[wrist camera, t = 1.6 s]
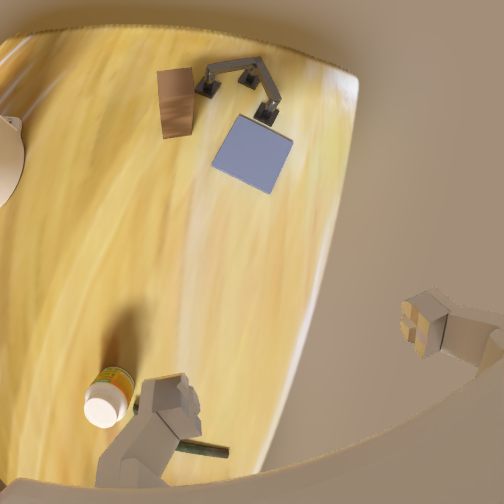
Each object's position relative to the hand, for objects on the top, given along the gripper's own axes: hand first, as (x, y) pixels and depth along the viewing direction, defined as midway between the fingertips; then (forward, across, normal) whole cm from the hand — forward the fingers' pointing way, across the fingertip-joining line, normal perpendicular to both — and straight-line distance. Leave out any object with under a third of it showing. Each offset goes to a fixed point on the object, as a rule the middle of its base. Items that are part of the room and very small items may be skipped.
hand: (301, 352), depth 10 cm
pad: (+36, -5, -2) cm, 36 cm away
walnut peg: (+37, +4, -10) cm, 39 cm away
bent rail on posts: (+40, -6, -12) cm, 43 cm away
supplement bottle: (+21, +22, +19) cm, 36 cm away
